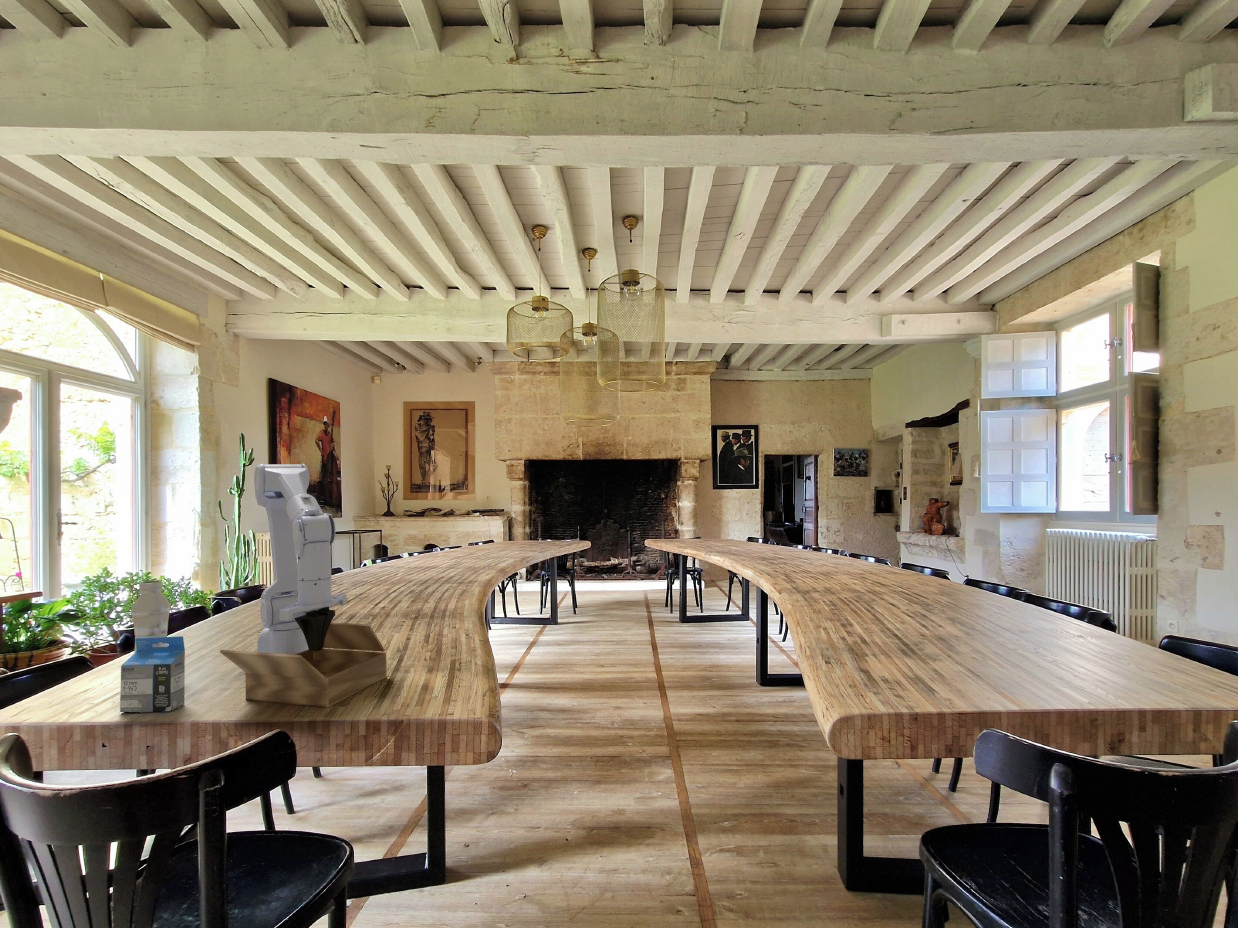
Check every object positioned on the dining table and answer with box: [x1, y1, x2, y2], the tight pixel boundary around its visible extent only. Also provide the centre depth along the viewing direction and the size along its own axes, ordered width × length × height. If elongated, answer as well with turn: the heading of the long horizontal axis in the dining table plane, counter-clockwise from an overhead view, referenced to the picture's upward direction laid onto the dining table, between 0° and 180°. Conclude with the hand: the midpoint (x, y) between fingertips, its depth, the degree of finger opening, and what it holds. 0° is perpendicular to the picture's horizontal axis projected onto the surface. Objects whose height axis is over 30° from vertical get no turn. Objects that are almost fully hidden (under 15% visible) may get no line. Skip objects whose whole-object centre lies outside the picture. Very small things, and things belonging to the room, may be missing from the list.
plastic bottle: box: [131, 579, 171, 654], centre depth 122 cm, size 6×7×20 cm
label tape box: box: [119, 635, 186, 713], centre depth 106 cm, size 9×4×12 cm, turn 92°
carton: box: [244, 648, 388, 709], centre depth 114 cm, size 18×16×5 cm
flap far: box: [296, 621, 386, 652], centre depth 120 cm, size 17×8×1 cm
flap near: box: [219, 649, 325, 679], centre depth 104 cm, size 17×8×1 cm
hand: (315, 650), depth 114 cm, fingers closed
